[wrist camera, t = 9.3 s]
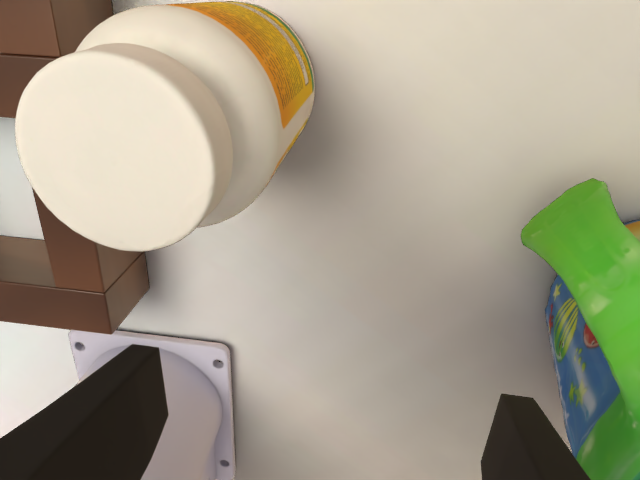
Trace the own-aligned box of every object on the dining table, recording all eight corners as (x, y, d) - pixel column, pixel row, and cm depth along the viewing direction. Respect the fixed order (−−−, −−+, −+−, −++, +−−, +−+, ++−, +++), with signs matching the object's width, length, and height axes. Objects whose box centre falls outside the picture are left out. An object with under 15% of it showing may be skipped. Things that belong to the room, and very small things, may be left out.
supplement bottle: (301, 167, 19) (231, 310, 11) (168, 135, 19) (-7, 251, 11) (331, 19, 17) (270, 52, 8) (178, -18, 17) (-41, -23, 8)
